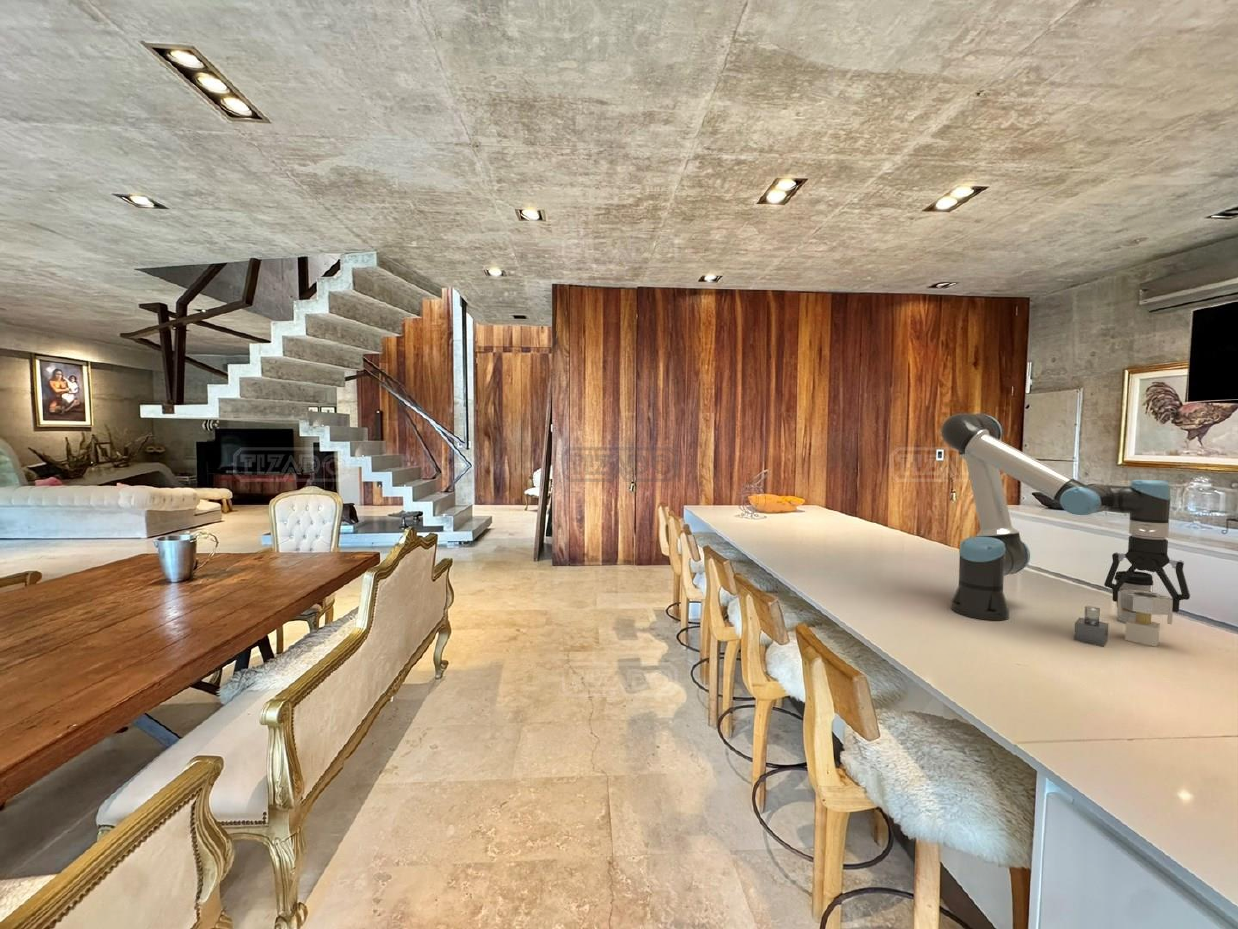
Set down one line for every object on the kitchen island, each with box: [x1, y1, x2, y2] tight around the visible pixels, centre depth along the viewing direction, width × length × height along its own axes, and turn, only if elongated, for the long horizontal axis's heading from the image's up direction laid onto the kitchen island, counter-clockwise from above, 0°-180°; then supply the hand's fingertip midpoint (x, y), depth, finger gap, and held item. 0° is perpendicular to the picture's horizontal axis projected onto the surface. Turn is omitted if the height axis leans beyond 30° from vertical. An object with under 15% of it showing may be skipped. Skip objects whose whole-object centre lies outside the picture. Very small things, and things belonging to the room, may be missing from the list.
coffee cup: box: [1113, 570, 1154, 624], centre depth 158 cm, size 8×8×15 cm
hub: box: [1124, 612, 1161, 648], centre depth 143 cm, size 6×6×9 cm
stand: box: [1073, 605, 1109, 648], centre depth 143 cm, size 6×6×9 cm
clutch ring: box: [1121, 590, 1171, 616], centre depth 143 cm, size 9×9×4 cm
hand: (1144, 618), depth 143 cm, fingers closed on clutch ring, 9 cm apart
